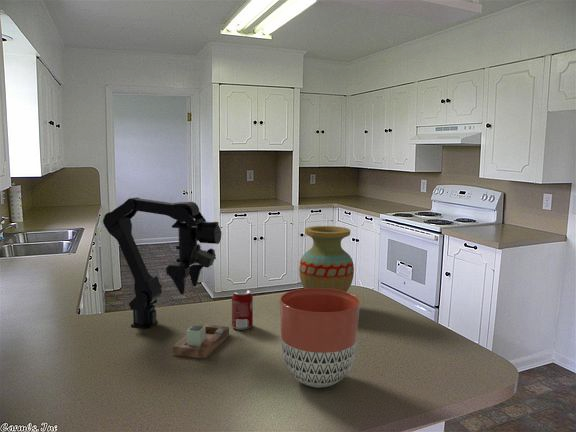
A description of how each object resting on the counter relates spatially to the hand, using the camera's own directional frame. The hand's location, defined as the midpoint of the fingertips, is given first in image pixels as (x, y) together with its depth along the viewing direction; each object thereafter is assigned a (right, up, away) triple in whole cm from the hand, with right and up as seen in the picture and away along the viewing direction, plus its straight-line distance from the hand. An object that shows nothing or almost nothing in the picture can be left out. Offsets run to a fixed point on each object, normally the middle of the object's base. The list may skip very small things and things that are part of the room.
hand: (188, 290), depth 147 cm
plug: (+5, -15, -14) cm, 21 cm away
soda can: (+17, -13, +4) cm, 22 cm away
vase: (+46, -11, +22) cm, 52 cm away
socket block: (+6, -15, -10) cm, 19 cm away
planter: (+39, -18, -32) cm, 53 cm away
